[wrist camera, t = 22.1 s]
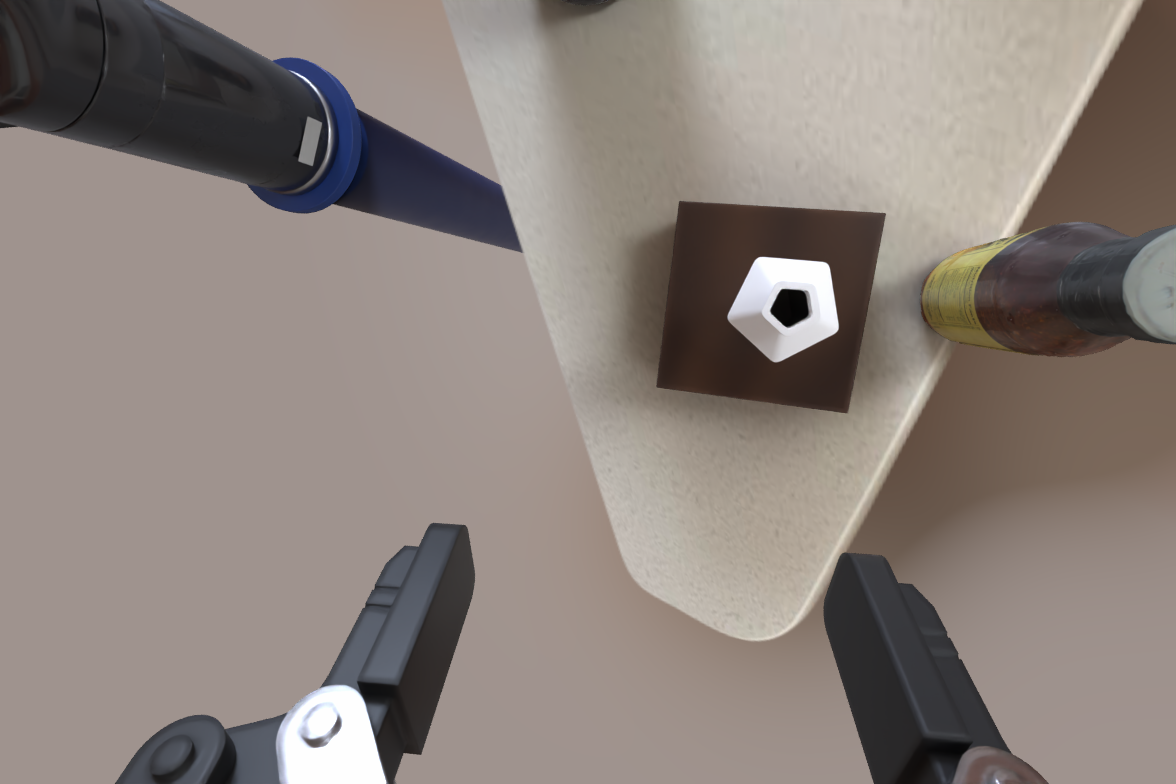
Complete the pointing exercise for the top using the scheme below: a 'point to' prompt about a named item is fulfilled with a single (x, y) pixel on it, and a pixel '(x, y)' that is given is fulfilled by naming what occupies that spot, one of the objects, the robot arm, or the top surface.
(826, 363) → the box
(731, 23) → the top surface
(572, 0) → the supplement container
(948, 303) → the sauce bottle
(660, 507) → the top surface
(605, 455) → the top surface
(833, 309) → the white faceted vase
